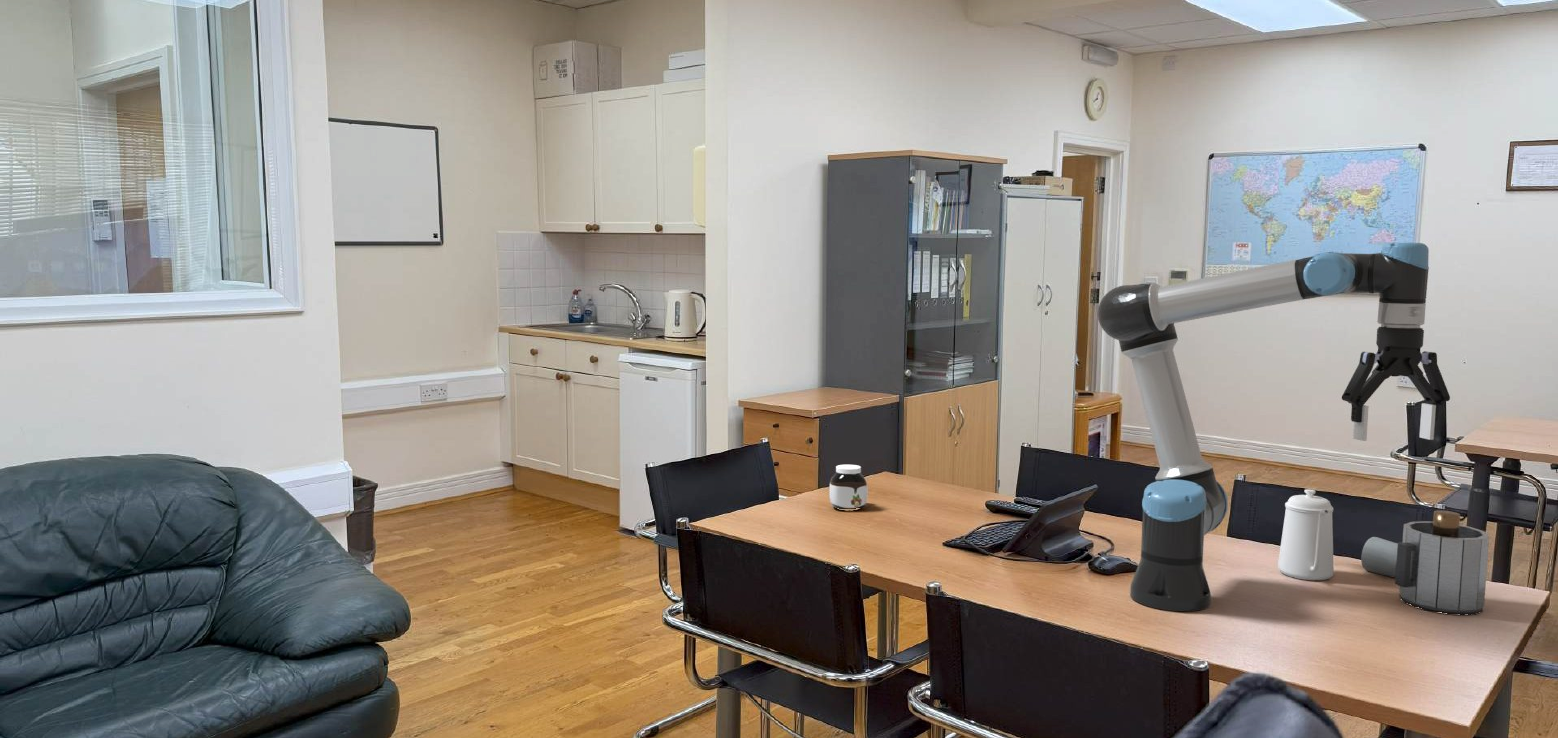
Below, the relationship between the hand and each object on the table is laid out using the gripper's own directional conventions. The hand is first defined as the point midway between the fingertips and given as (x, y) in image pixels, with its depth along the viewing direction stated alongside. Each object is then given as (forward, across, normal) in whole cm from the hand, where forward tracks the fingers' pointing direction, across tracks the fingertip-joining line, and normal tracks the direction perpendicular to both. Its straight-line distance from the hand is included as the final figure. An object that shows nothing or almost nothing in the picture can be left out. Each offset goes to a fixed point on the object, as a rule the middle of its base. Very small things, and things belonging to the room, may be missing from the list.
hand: (1393, 439), depth 198 cm
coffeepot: (+35, +3, +28) cm, 45 cm away
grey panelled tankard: (+35, +17, +7) cm, 39 cm away
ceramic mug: (+35, +22, +27) cm, 50 cm away
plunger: (+31, +18, +7) cm, 37 cm away
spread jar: (+35, -84, +101) cm, 136 cm away
